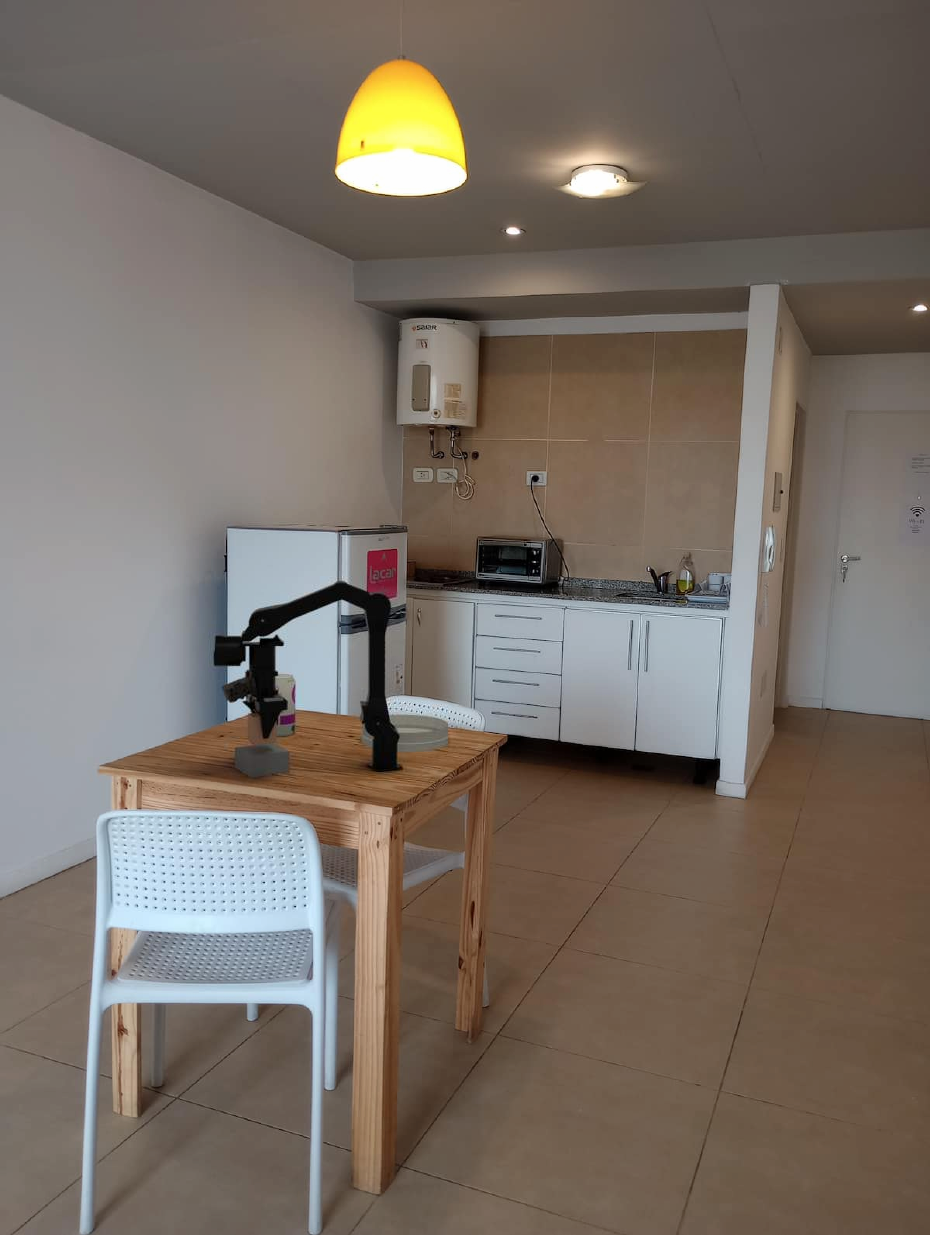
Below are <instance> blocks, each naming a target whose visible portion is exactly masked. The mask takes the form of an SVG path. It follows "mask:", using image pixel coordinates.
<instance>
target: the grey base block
mask: <svg viewBox="0 0 930 1235" xmlns="http://www.w3.org/2000/svg"><path fill="white" fill-rule="evenodd" d="M235 768H236V769H235ZM234 769H235V770H237V769H238V770H240V771H242V772H243V773H245V774H246V775H245V774H244V775H245V776H247V775H248V776H247V777H249V776H250V777H252V778H259V777H258V776H260V777H265V776H264V775H267V776H272V774H274V775H280V774H279V773H281V774H288V773H290V750H288V749H287V748H284V747H282V746H280V745H278V744H277V743H271V744H259V745H253V744H252V745H244V746H237V747H236V746H235V747H234ZM238 770H237V771H238ZM240 771H239V772H240ZM242 772H241V773H242ZM243 773H242V774H243ZM250 777H249V778H250Z"/></svg>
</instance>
